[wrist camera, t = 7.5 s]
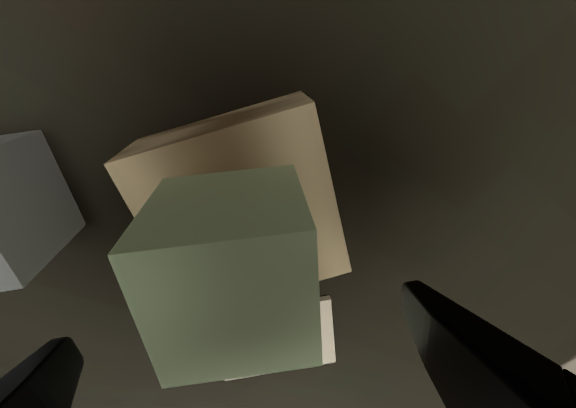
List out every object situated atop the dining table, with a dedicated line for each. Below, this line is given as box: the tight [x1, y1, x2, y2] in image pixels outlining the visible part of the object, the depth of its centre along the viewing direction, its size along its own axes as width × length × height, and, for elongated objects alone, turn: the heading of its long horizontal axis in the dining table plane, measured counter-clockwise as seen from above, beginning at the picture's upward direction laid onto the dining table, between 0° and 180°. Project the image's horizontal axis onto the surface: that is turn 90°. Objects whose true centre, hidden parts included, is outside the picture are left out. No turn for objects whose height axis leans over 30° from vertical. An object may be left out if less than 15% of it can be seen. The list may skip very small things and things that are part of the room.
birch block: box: [104, 91, 352, 281], centre depth 15 cm, size 8×8×4 cm
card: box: [225, 295, 336, 381], centre depth 21 cm, size 8×6×1 cm
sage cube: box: [107, 164, 323, 389], centre depth 11 cm, size 5×5×5 cm
